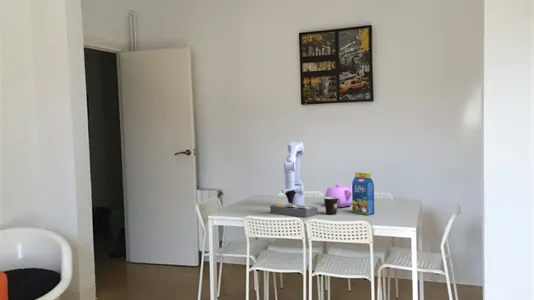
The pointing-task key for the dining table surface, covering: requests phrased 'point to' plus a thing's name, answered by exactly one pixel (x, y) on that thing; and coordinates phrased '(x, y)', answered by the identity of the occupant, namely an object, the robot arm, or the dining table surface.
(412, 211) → the dining table surface
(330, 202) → the coffee mug
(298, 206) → the rocker outlet
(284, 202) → the outlet rocker
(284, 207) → the power strip
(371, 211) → the blue food package
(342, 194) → the teapot
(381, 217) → the dining table surface
